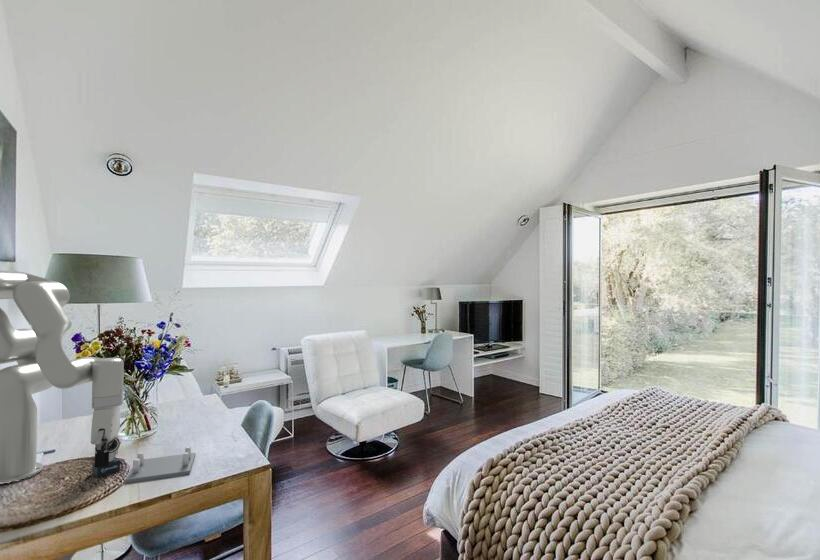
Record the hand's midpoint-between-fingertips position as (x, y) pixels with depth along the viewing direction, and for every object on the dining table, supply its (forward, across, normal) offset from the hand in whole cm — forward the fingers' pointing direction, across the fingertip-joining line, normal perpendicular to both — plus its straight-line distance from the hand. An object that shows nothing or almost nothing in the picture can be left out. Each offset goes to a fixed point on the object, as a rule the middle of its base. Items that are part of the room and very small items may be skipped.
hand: (106, 460), depth 121 cm
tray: (+4, +3, +15) cm, 16 cm away
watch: (+4, 0, 0) cm, 4 cm away
